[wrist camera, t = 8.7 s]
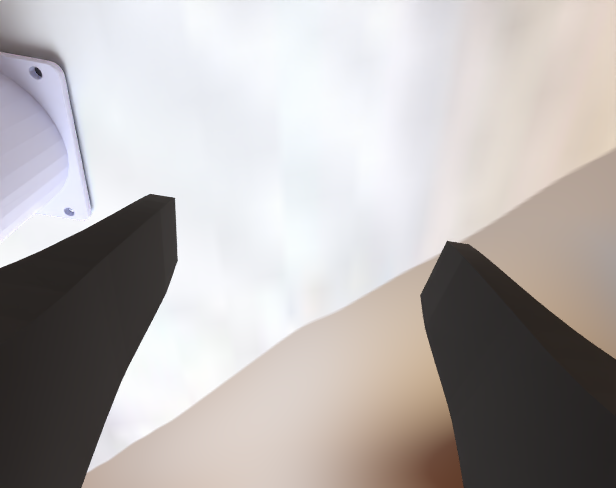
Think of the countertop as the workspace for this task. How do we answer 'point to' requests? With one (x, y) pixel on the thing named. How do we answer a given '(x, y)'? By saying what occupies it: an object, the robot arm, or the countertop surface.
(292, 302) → the countertop surface
